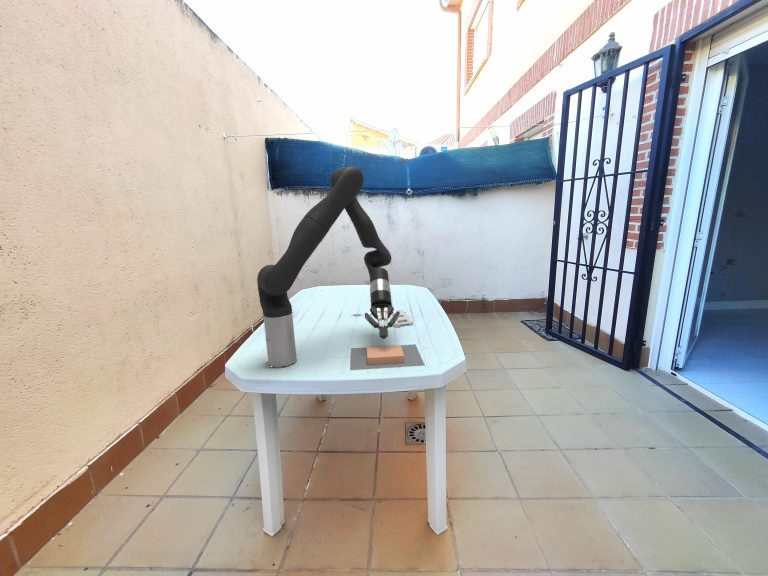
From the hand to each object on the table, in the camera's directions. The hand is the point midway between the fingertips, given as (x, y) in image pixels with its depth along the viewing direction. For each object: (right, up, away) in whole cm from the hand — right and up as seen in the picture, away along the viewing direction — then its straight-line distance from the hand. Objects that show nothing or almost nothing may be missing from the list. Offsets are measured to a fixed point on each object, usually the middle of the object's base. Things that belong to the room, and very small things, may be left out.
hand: (384, 337), depth 115 cm
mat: (0, -7, +2) cm, 7 cm away
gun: (+7, +1, +41) cm, 42 cm away
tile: (0, -5, +5) cm, 7 cm away
